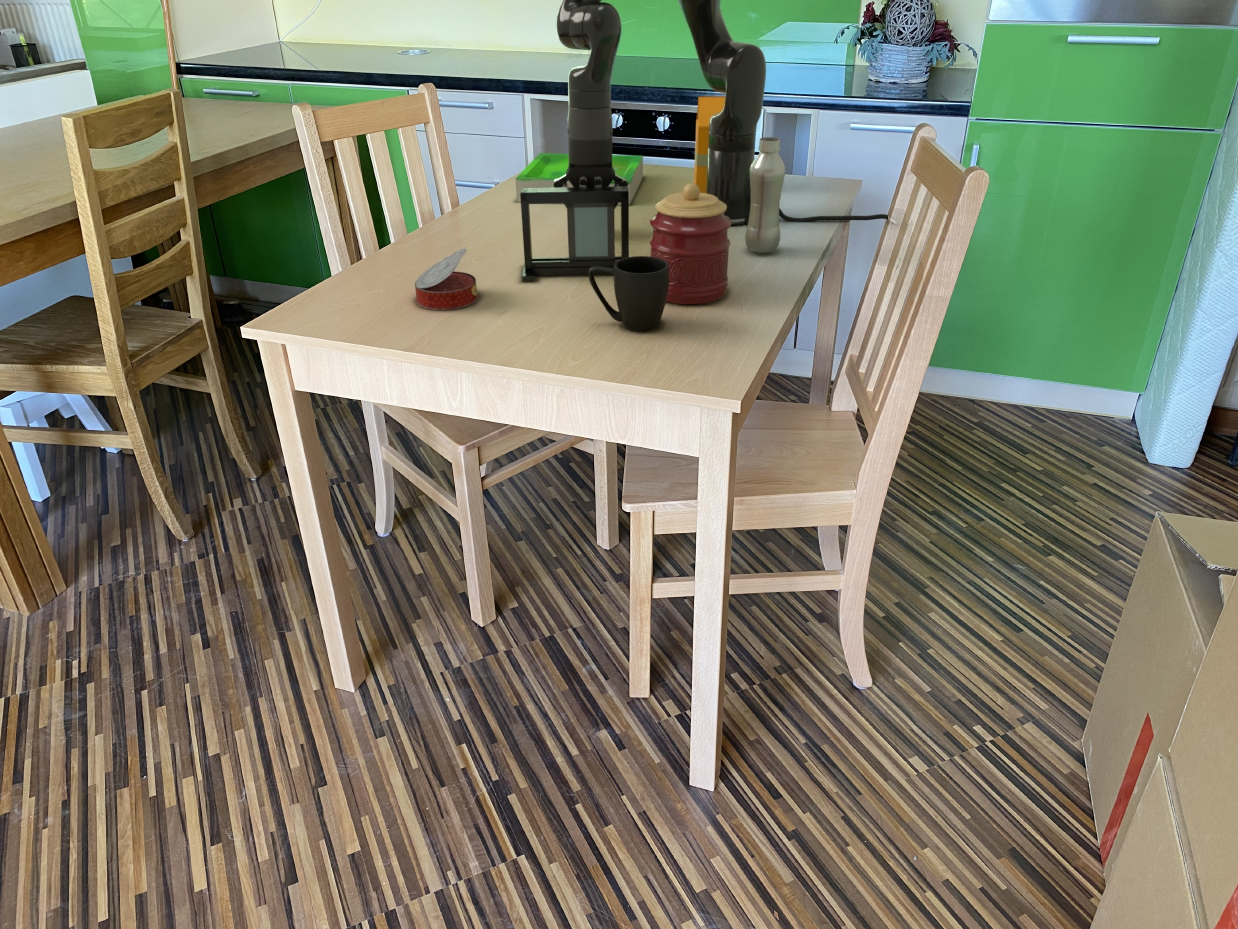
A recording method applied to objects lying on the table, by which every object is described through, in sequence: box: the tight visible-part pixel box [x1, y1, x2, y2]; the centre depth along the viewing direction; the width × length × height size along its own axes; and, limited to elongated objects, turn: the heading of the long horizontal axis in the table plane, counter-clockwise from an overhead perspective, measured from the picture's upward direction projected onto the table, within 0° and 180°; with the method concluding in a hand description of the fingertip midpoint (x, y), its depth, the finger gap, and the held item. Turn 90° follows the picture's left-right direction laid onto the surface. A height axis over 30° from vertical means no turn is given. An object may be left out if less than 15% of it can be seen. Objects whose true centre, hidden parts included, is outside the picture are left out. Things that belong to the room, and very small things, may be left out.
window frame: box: [520, 186, 630, 283], centre depth 155 cm, size 19×8×14 cm, turn 92°
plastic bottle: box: [744, 136, 786, 253], centre depth 163 cm, size 6×7×20 cm
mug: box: [588, 255, 669, 333], centre depth 136 cm, size 8×12×10 cm
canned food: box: [414, 247, 478, 311], centre depth 147 cm, size 11×10×10 cm
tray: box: [514, 152, 644, 206], centre depth 207 cm, size 25×25×5 cm
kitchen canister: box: [649, 183, 732, 305], centre depth 146 cm, size 13×13×18 cm
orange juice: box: [693, 95, 726, 193], centre depth 202 cm, size 8×9×20 cm
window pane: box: [566, 203, 616, 261], centre depth 158 cm, size 8×7×11 cm
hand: (591, 234), depth 161 cm, fingers closed
